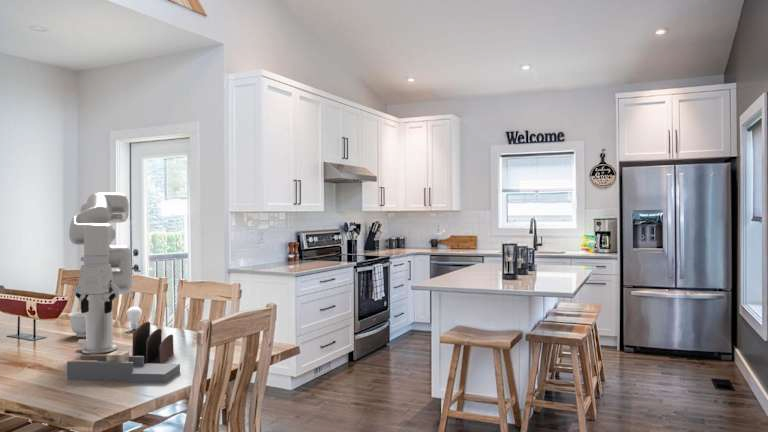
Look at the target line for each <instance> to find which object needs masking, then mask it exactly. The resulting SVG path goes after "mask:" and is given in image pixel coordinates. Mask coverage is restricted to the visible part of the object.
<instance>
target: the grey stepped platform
mask: <svg viewBox="0 0 768 432" xmlns="http://www.w3.org/2000/svg"><path fill="white" fill-rule="evenodd" d="M107 355H108V354H103V353H97V354H82V355H80V359H79V360H68V361H67V362H66V380H68V381H105V382H106V381H110V382H111V381H113V382H119V381H120V382H128V383H130V384H131V383H132V384H133V383H134V384H136V383H137V384H139V383H141V384H166V383H167V382H169V381H170V380H172V379H173V378H174V377H176V376H177V375H179V374H180V373H181V364H180V363H164V364H151V363H146V364H145V365H144V356H132V355H129V362H107Z"/></svg>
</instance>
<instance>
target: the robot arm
mask: <svg viewBox="0 0 768 432" xmlns="http://www.w3.org/2000/svg"><path fill="white" fill-rule="evenodd" d="M129 206H130V204H129V200H128V197H127V196H126V195H125V194H124V193H121V192H94V193H92V194H90V195H88V197H87V200H86V202H85V203H83V204H81V207H80V212H79V213H77V214H75V215H74V216H73V217H72V219H71V220H70V225H69V230H68V232H69V233H68V236H69V237H68V238H69V240H70V242H71V244H73V245H75V246H76V245H77V246H82V245H83V256H81V257H80V261H81V262H83V264H81V266H80V270H79V275H78V284H77V285H75V286H73V288H71V289H72V290H71V291H72V292H73V293H74V295H75V296H76V297H77V299H78V301H79V302H80V311H81V313H86V336H85V339H78V340H77V343H76V344H77V345H76V346H83V347H82V348H81V352H82V353H83V354H86V355H90V354H104V353H109V352H110V353H111V352H112V351H113V352H114V351H116V349H118V348H117V347H118V346H117V344H115V343H113V342H114V341H113V339H114V338H113V336H114V335H113V330H114V329H113V328H114V327H113V326H114V325H113V323H114V322H113V320H114V319H113V313H114V312H113V311H114V310H113V309H114V308H113V301H114V299H115V298H116V297H118V295H126V294H129V293H130V292H131V290H132V286H133V276H132V275H133V271H132V270H133V269H132V268H133V266H132V264H133V263H132V251H131V248H130V247H129V246H127V245H123V244H121V245H119V244H117V245H115V244H112V242H113V241H114V240H115V238H116V228H114V226H113V225H112V223H114V224H115V223H116V224H117V223H119V224H120V223H124V222H126V221H127V220H128V218H129V208H130V207H129ZM113 269H118V270H117V271H116V270H114V271H113Z"/></svg>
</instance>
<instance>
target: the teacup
mask: <svg viewBox="0 0 768 432" xmlns="http://www.w3.org/2000/svg"><path fill="white" fill-rule="evenodd" d="M67 316H68V318H69V320H70V321H69V322H70V328H71V331H72V332H73V333H74V334H75V337H79V338H83V337H85V338H86V313H81V310H80V311H75V312H70V313H68V314H67Z"/></svg>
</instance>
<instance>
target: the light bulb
mask: <svg viewBox="0 0 768 432" xmlns="http://www.w3.org/2000/svg"><path fill="white" fill-rule="evenodd" d="M142 315H143V311H142V309H141V308H140V307H138V306H131V307H129V308H128V309H127V311H126V317H127V319H128V320H129V325H130V329H131V330H134V331H135V330H136V329H137V328H138V327H139V321H140V320H141V317H142Z"/></svg>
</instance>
